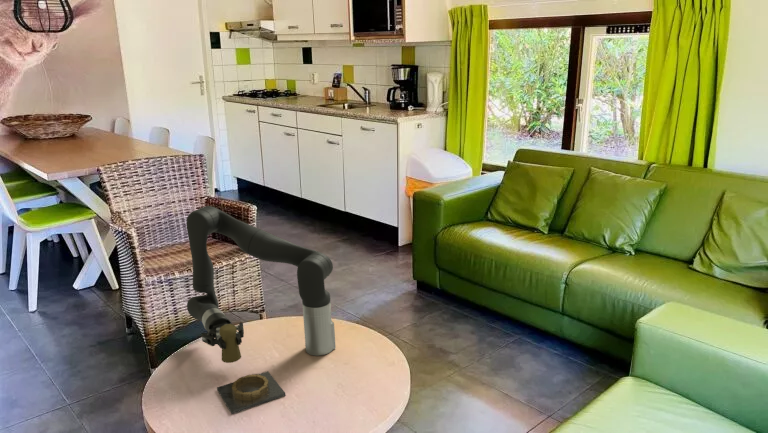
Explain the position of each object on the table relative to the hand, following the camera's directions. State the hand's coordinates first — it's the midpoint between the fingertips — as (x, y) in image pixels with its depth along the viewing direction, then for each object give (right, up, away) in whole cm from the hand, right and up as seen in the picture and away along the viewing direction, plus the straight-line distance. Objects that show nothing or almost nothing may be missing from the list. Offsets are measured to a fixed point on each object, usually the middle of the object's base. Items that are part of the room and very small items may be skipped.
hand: (232, 344), depth 177 cm
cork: (-1, -5, +4) cm, 7 cm away
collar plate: (+7, -13, -6) cm, 16 cm away
